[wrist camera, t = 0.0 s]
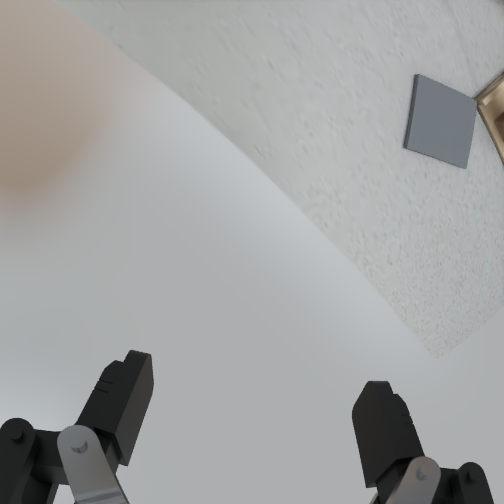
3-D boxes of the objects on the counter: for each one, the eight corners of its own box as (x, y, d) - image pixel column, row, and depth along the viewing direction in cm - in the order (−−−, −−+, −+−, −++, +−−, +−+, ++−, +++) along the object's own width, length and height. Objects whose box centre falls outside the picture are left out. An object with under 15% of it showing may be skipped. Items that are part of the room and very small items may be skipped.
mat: (415, 74, 30) (418, 74, 29) (473, 101, 30) (477, 101, 29) (403, 147, 34) (407, 148, 33) (462, 167, 34) (465, 169, 33)
